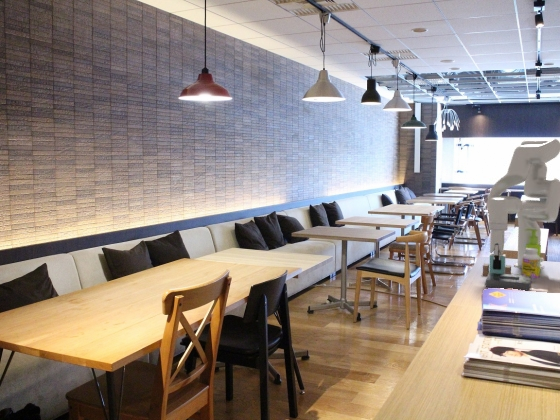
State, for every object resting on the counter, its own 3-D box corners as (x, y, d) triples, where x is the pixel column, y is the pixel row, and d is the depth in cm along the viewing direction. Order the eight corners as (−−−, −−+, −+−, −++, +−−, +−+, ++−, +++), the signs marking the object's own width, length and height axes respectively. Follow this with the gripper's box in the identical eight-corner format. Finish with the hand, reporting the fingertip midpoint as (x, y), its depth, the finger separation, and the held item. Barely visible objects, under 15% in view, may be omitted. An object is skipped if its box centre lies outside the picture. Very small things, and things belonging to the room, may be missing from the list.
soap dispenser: (526, 271, 245) (527, 227, 243) (542, 274, 240) (543, 229, 238) (520, 273, 241) (522, 229, 239) (537, 276, 236) (538, 230, 234)
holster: (483, 273, 243) (483, 262, 243) (512, 275, 238) (512, 264, 237) (480, 277, 234) (481, 266, 234) (510, 280, 229) (511, 268, 228)
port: (489, 279, 230) (489, 272, 230) (531, 283, 223) (531, 275, 222) (485, 287, 217) (485, 279, 217) (529, 291, 210) (529, 282, 210)
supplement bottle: (519, 278, 231) (520, 249, 230) (525, 276, 236) (525, 247, 235) (536, 281, 227) (537, 250, 226) (541, 278, 232) (542, 248, 230)
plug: (490, 271, 239) (490, 253, 238) (505, 272, 236) (505, 254, 236) (489, 273, 236) (489, 255, 235) (504, 274, 233) (504, 256, 232)
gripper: (490, 223, 243) (490, 264, 245) (486, 228, 228) (486, 271, 230) (509, 224, 240) (508, 265, 241) (505, 229, 225) (505, 272, 227)
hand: (497, 267), depth 236 cm, fingers closed on plug, 4 cm apart
